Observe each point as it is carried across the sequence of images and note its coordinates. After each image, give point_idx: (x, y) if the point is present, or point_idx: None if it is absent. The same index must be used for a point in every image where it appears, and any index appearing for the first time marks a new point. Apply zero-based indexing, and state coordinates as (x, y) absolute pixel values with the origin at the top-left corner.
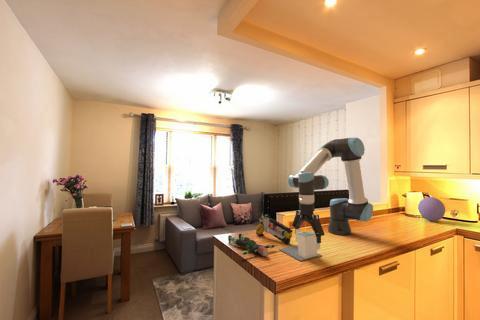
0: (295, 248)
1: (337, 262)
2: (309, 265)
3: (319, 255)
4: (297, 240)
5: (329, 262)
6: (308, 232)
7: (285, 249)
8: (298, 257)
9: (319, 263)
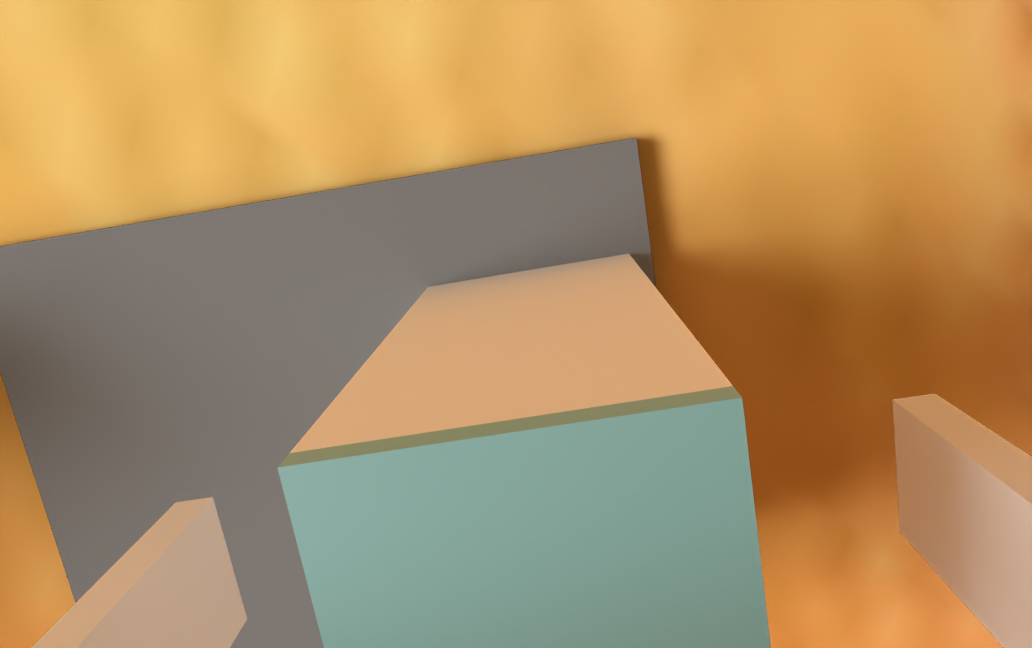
0: (151, 439)
1: (995, 32)
2: (879, 592)
3: (632, 200)
4: (228, 617)
5: (927, 189)
6: (452, 635)
7: None
8: None
9: (884, 393)
